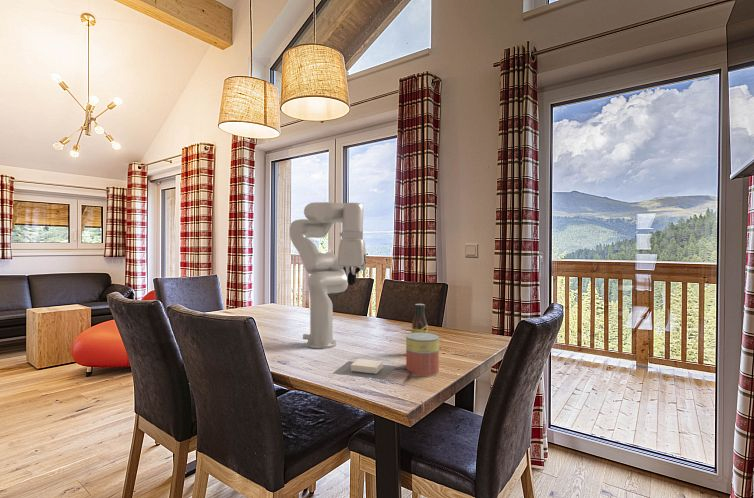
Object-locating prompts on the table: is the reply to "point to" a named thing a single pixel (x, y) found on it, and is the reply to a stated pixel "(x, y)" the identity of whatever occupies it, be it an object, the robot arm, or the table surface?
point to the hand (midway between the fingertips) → (351, 284)
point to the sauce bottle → (419, 320)
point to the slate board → (380, 375)
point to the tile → (367, 366)
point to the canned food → (422, 354)
